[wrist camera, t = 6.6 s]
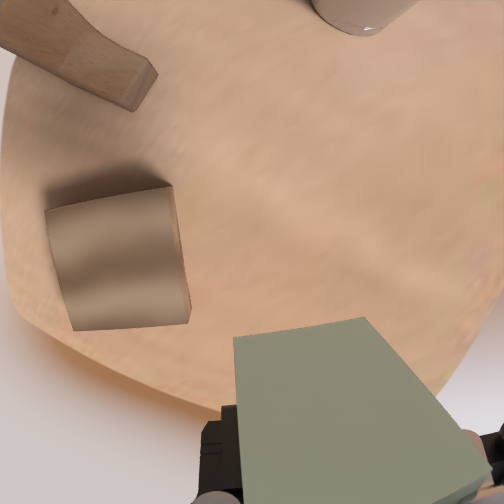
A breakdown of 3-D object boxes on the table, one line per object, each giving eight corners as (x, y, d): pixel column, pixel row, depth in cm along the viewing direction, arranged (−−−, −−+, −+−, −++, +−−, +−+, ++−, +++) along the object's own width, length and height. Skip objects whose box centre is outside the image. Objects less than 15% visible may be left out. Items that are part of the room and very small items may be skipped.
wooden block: (160, 74, 25) (89, -31, 8) (135, 114, 26) (29, 48, 8) (92, 46, 23) (-4, -37, 6) (69, 82, 24) (-48, 25, 7)
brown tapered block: (63, 205, 27) (44, 210, 24) (173, 185, 28) (165, 187, 24) (87, 314, 30) (73, 331, 27) (192, 305, 31) (188, 323, 27)
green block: (233, 337, 11) (248, 551, 3) (364, 316, 11) (493, 468, 4) (248, 430, 12) (267, 592, 5) (356, 410, 13) (426, 548, 5)
